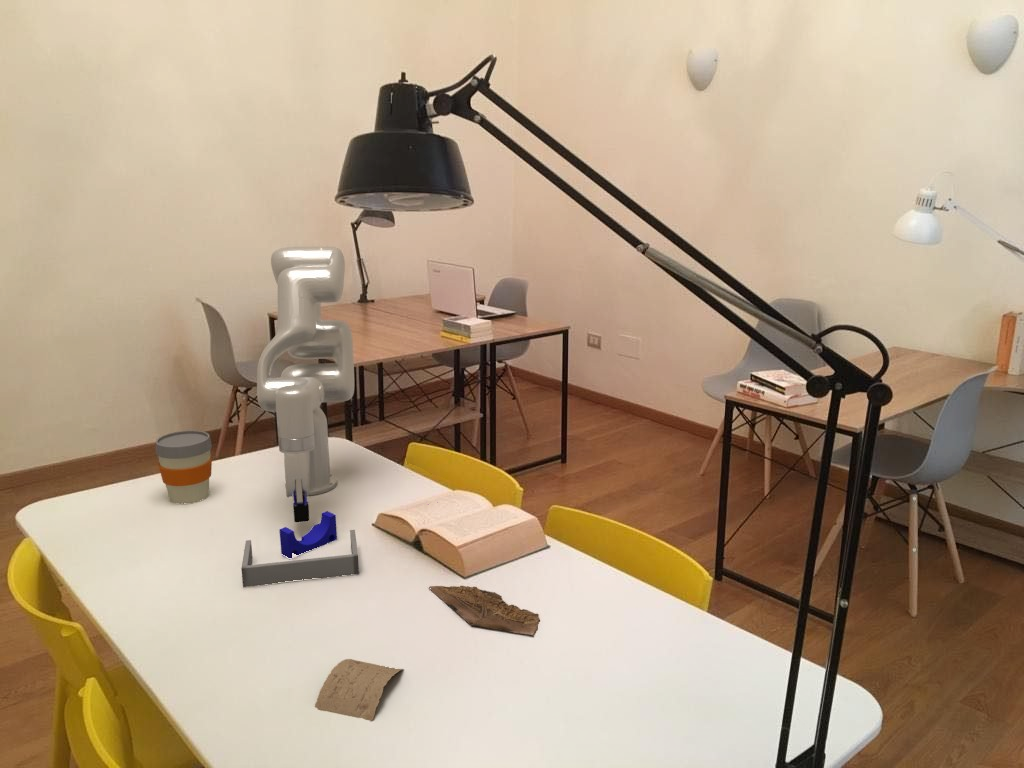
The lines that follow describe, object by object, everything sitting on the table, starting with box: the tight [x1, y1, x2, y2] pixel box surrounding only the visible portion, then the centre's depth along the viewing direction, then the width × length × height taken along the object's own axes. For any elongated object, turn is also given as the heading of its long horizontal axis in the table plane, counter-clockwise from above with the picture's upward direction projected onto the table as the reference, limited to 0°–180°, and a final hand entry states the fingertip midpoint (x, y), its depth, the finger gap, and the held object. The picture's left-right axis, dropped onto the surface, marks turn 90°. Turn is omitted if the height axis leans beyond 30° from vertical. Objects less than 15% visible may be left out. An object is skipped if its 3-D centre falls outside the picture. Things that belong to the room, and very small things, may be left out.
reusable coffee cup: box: [155, 430, 213, 505], centre depth 191 cm, size 13×13×15 cm
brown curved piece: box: [314, 658, 404, 722], centre depth 123 cm, size 14×10×3 cm
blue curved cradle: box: [278, 510, 338, 559], centre depth 168 cm, size 12×4×6 cm, turn 139°
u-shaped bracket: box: [240, 529, 360, 588], centre depth 160 cm, size 12×22×4 cm, turn 104°
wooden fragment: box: [428, 585, 540, 638], centre depth 145 cm, size 26×11×1 cm, turn 48°
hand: (301, 520), depth 176 cm, fingers closed
